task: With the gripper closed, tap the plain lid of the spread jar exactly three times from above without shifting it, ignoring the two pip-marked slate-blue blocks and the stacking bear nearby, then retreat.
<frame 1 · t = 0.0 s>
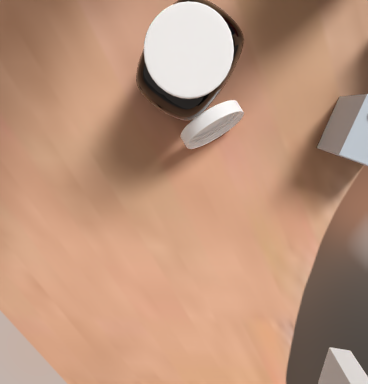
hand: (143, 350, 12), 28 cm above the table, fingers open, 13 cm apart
pip block three: (351, 131, 37), on the table
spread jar: (198, 87, 37), on the table
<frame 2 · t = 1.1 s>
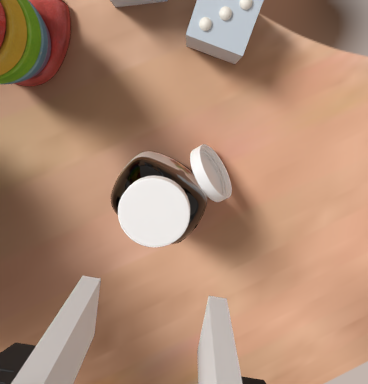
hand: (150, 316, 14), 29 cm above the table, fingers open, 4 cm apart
stacking bear: (26, 43, 38), on the table
pip block three: (220, 29, 37), on the table
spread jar: (178, 178, 42), on the table
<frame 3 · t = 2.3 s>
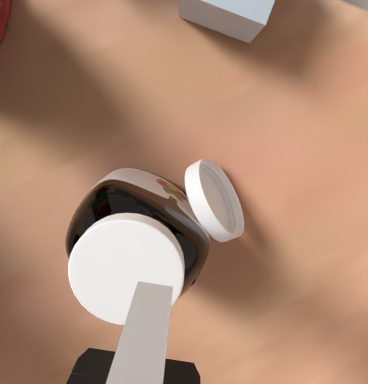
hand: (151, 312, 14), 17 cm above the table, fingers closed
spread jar: (168, 203, 30), on the table
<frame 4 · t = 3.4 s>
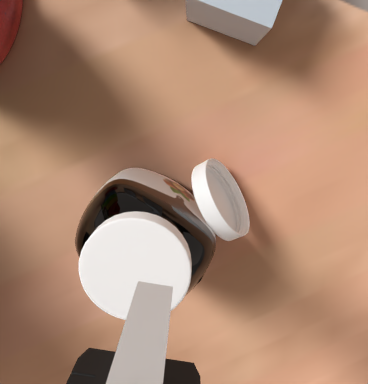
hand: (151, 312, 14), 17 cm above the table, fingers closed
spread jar: (175, 202, 31), on the table
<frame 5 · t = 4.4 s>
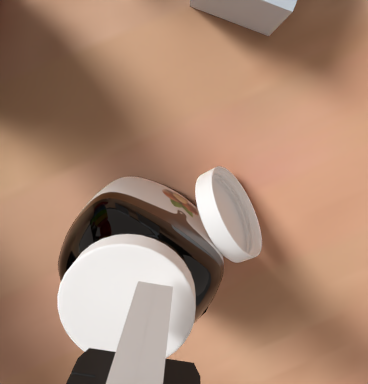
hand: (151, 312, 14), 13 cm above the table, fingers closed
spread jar: (176, 215, 27), on the table
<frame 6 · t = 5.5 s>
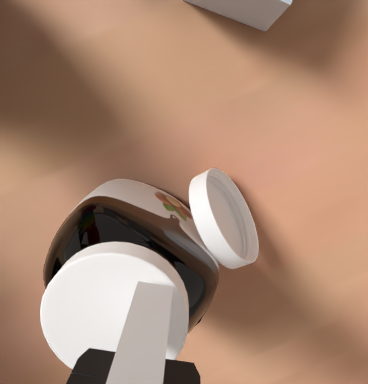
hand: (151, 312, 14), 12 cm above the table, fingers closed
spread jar: (169, 218, 26), on the table
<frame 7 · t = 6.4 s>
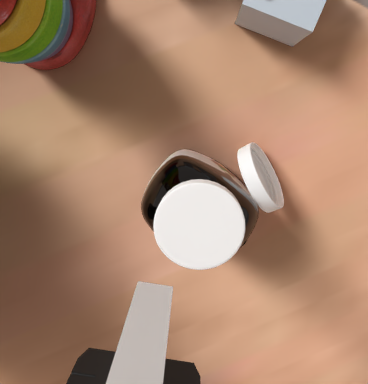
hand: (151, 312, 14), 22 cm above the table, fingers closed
stacking bear: (44, 18, 32), on the table
pip block three: (276, 3, 31), on the table
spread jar: (216, 182, 35), on the table
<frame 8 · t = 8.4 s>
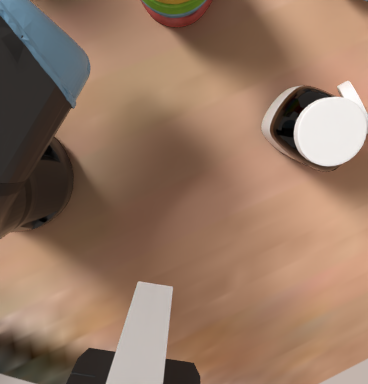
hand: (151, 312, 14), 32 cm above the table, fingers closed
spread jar: (309, 119, 44), on the table
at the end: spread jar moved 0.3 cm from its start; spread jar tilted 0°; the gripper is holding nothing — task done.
